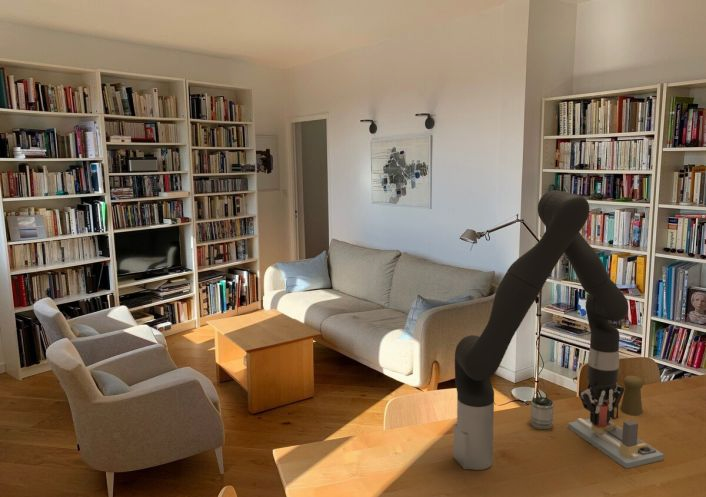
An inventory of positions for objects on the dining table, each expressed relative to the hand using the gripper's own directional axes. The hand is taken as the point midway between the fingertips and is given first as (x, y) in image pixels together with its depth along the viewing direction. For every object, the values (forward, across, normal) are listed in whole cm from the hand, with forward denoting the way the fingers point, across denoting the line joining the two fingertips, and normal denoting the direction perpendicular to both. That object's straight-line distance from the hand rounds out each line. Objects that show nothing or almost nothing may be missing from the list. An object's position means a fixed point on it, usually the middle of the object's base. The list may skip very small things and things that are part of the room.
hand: (599, 422), depth 149 cm
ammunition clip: (+5, +13, +14) cm, 20 cm away
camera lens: (+5, -10, +12) cm, 17 cm away
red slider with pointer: (+3, +2, 0) cm, 3 cm away
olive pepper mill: (+5, +21, +11) cm, 25 cm away
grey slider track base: (+5, +2, -2) cm, 6 cm away
